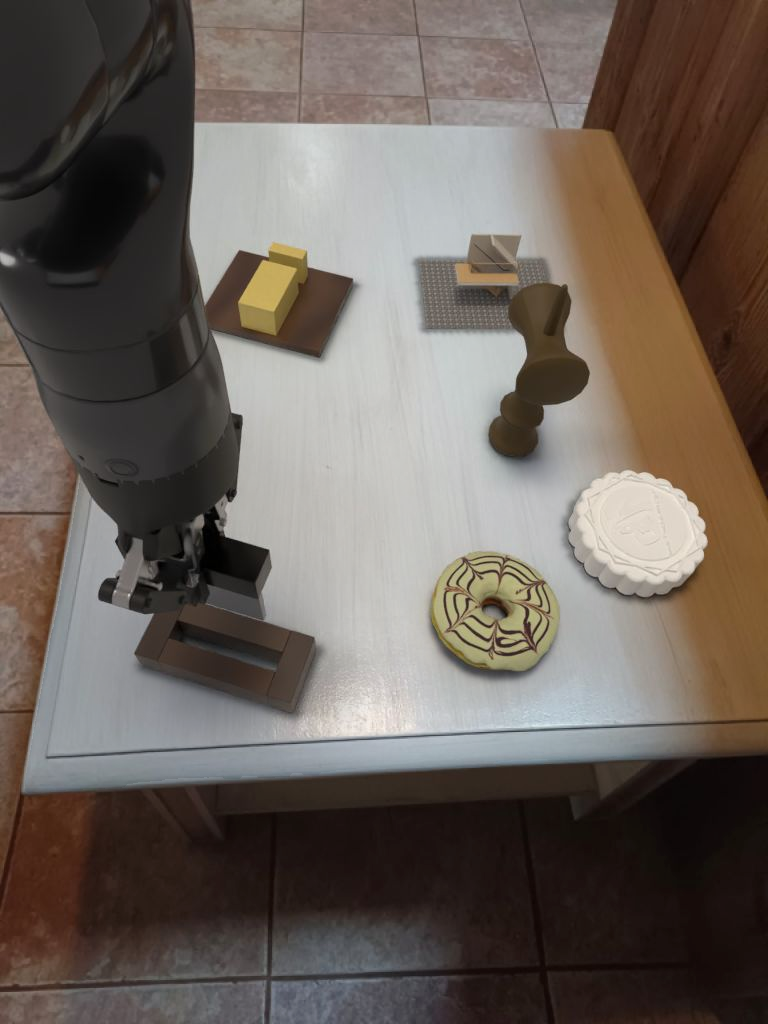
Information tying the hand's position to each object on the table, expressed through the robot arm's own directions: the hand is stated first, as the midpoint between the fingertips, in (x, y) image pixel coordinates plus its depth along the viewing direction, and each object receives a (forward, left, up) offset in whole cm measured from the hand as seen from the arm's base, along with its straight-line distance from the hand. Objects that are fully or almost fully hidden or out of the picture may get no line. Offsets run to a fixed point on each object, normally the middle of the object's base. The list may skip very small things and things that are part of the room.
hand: (202, 575), depth 47 cm
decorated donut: (+20, +10, -15) cm, 27 cm away
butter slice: (-11, +44, -14) cm, 47 cm away
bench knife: (0, 0, -4) cm, 4 cm away
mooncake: (+31, +22, -15) cm, 41 cm away
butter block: (-11, +38, -14) cm, 42 cm away
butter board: (-11, +40, -15) cm, 44 cm away
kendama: (+18, +30, -15) cm, 38 cm away
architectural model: (+11, +50, -15) cm, 53 cm away
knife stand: (0, 0, -15) cm, 15 cm away
